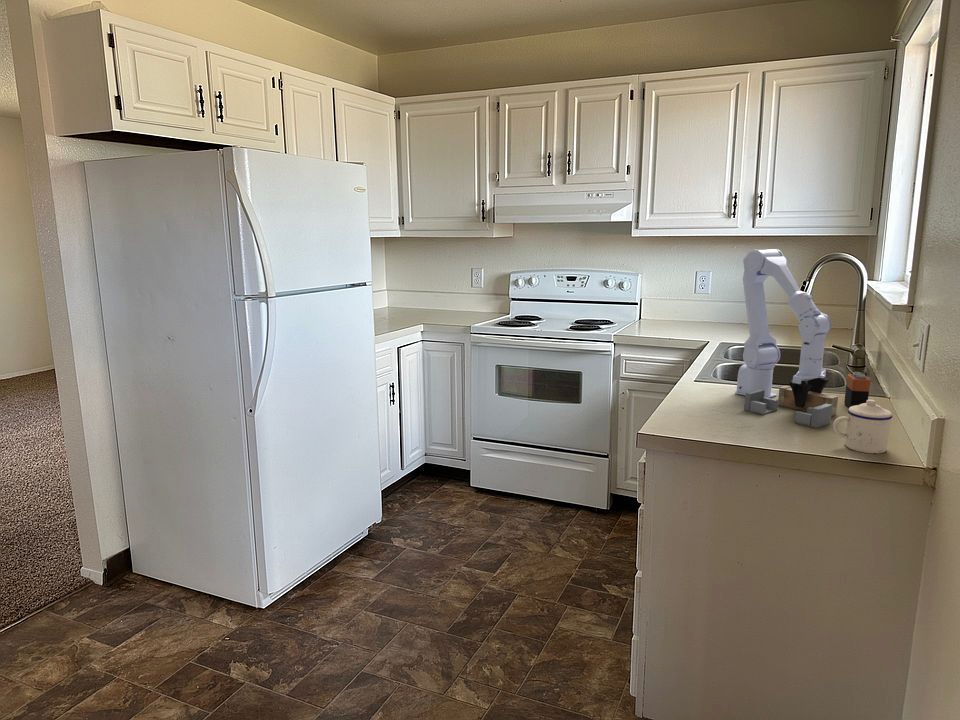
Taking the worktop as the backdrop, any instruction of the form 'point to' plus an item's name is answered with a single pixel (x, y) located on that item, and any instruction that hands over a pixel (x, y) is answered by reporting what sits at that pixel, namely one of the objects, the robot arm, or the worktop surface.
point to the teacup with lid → (866, 427)
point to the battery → (856, 389)
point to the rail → (811, 401)
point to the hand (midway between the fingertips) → (806, 404)
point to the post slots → (811, 418)
